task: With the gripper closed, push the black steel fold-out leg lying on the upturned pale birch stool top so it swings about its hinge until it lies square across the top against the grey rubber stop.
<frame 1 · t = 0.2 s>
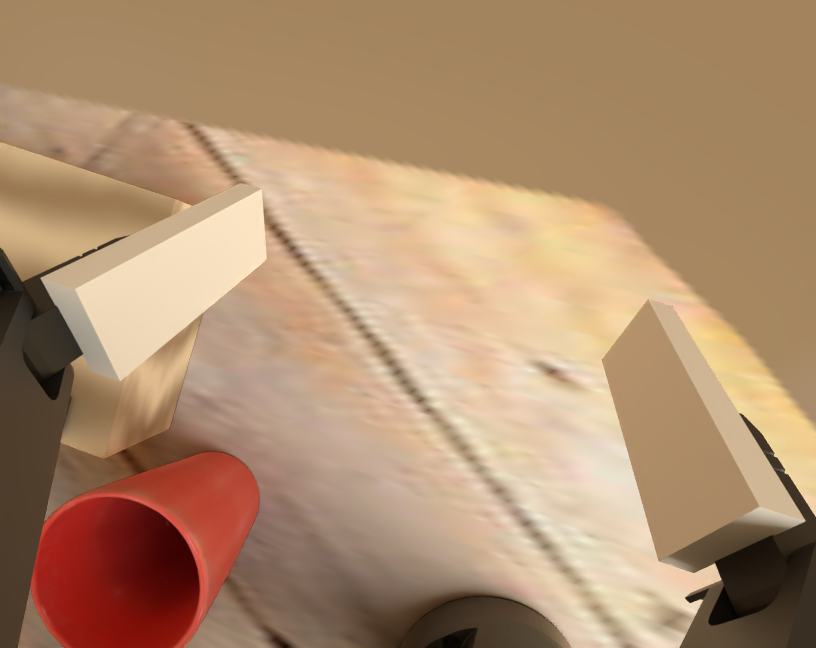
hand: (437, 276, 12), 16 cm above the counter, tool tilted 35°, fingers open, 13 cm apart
stool seat: (73, 283, 30), on the counter
flower pot: (217, 493, 30), on the counter
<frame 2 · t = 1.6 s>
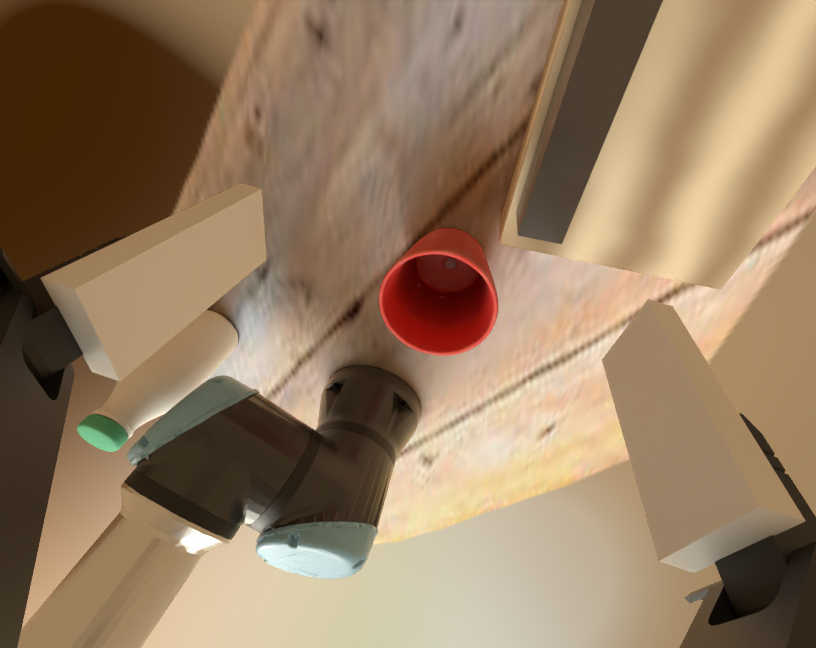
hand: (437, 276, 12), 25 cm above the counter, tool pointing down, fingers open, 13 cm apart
stool seat: (657, 99, 28), on the counter
milk bottle: (217, 328, 54), on the counter
folding leg: (590, 77, 21), point 9 cm above the counter, hinge at 0.0°
flower pot: (449, 260, 39), on the counter
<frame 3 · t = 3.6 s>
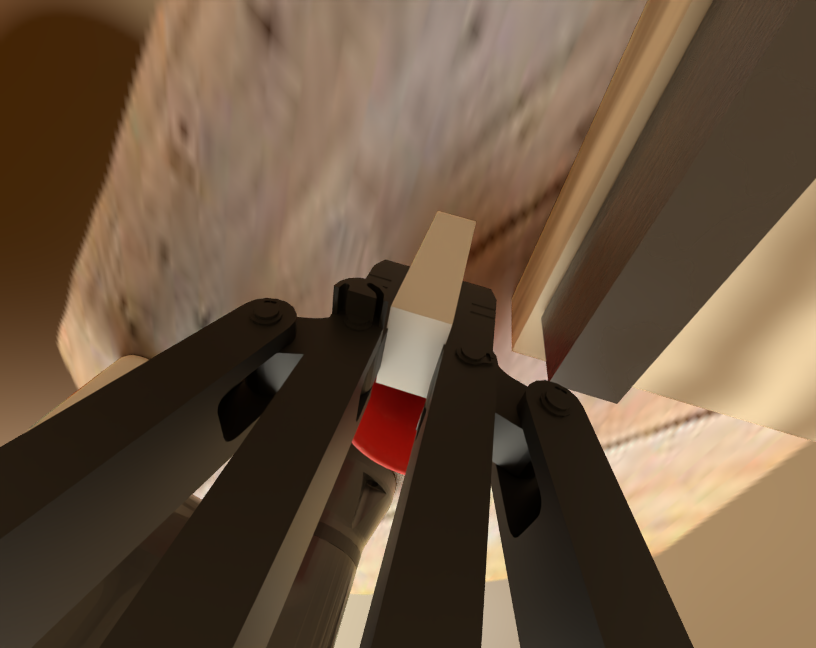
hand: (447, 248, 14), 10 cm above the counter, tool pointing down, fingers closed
stool seat: (761, 169, 19), on the counter
milk bottle: (152, 375, 44), on the counter
folding leg: (707, 159, 12), point 9 cm above the counter, hinge at 0.0°
flower pot: (441, 336, 30), on the counter
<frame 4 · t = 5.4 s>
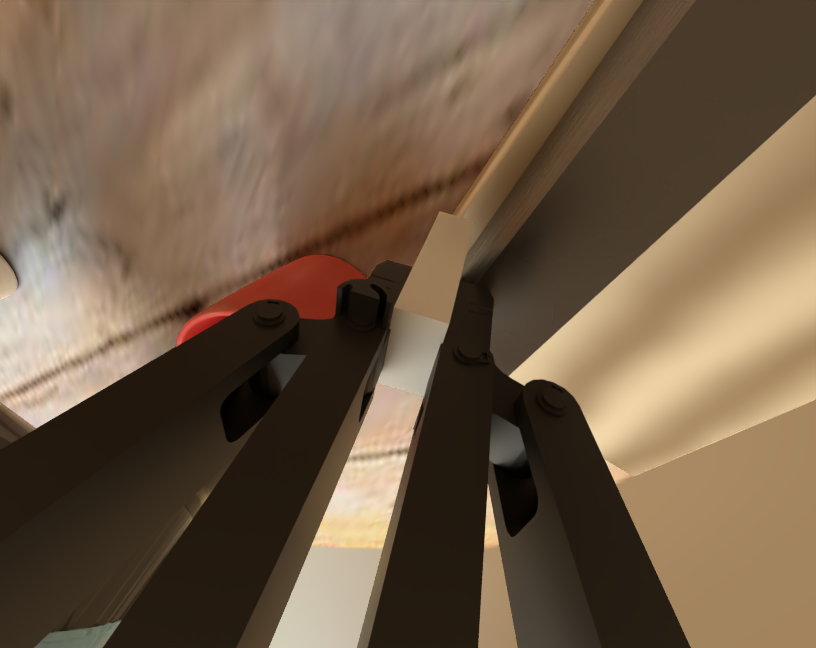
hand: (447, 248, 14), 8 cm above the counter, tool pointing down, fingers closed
stool seat: (662, 210, 19), on the counter
folding leg: (603, 168, 11), point 9 cm above the counter, hinge at 2.4°, touching gripper
flower pot: (333, 298, 28), on the counter
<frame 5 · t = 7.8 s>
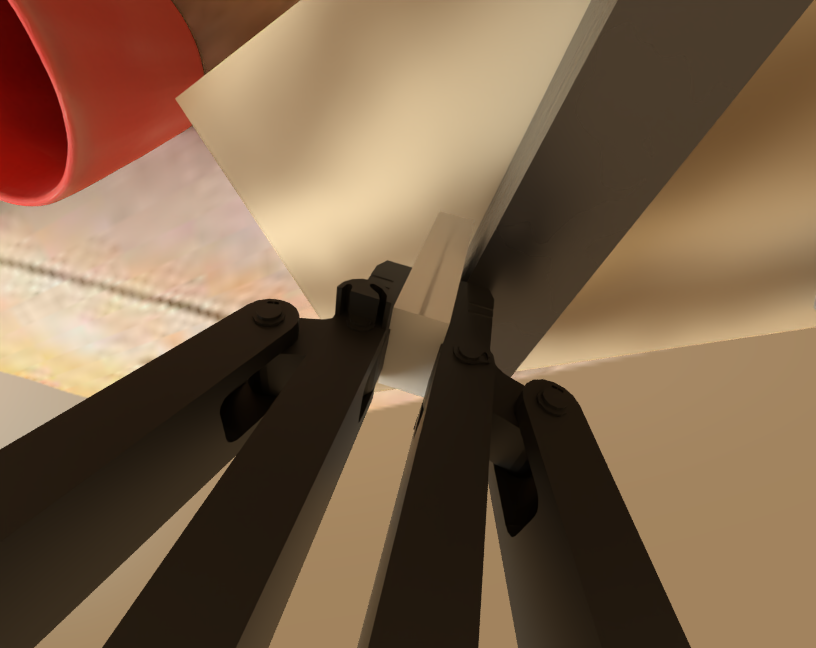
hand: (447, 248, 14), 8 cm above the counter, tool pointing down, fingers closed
stool seat: (507, 167, 19), on the counter
folding leg: (585, 144, 10), point 9 cm above the counter, hinge at 46.4°, touching gripper
flower pot: (148, 58, 21), on the counter
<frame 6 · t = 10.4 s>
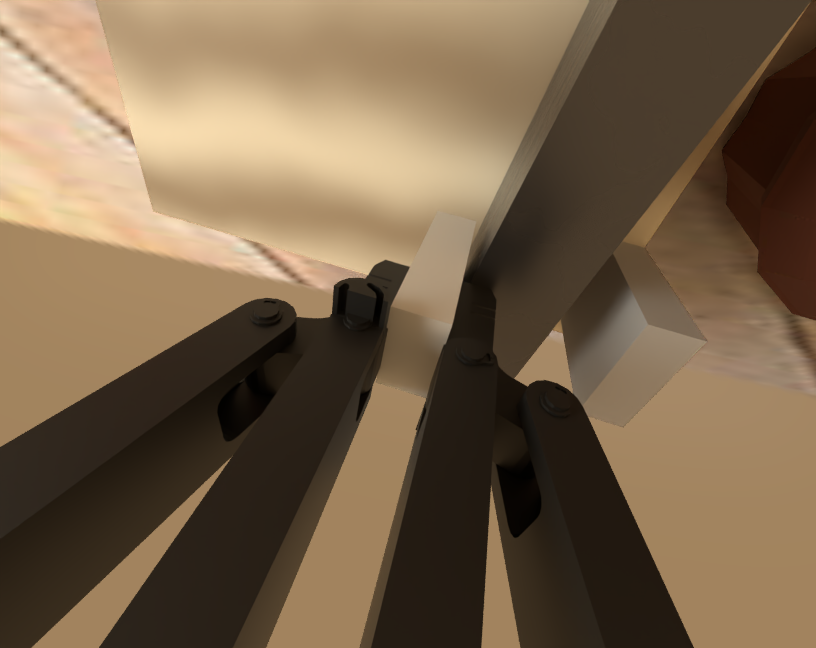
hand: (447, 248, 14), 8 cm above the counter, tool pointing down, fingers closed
stool seat: (420, 54, 17), on the counter
folding leg: (596, 128, 10), point 9 cm above the counter, hinge at 83.1°
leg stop: (598, 283, 16), resting on stool seat
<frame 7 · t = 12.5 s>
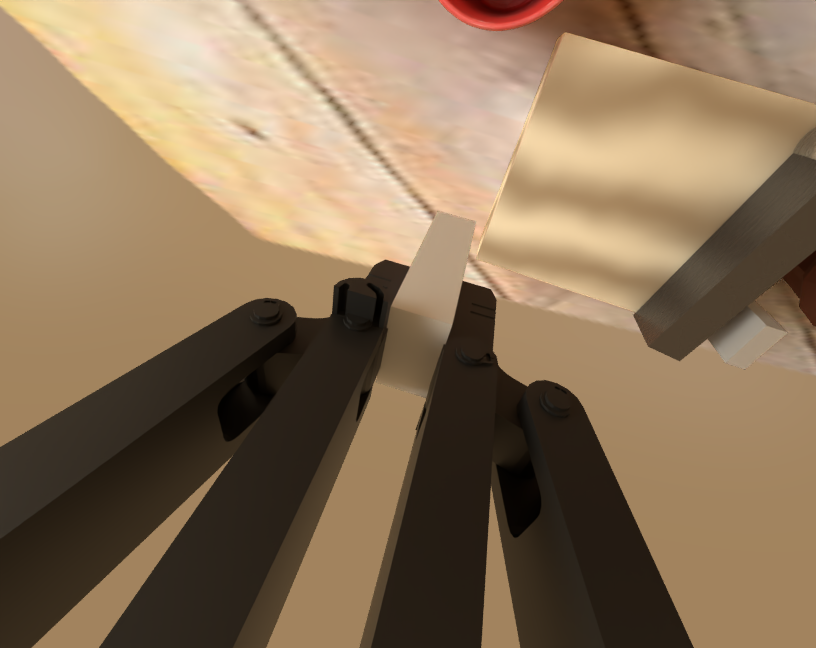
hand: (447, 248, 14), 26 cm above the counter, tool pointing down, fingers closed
stool seat: (628, 189, 34), on the counter
folding leg: (747, 252, 27), point 9 cm above the counter, hinge at 83.1°
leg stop: (720, 308, 32), resting on stool seat
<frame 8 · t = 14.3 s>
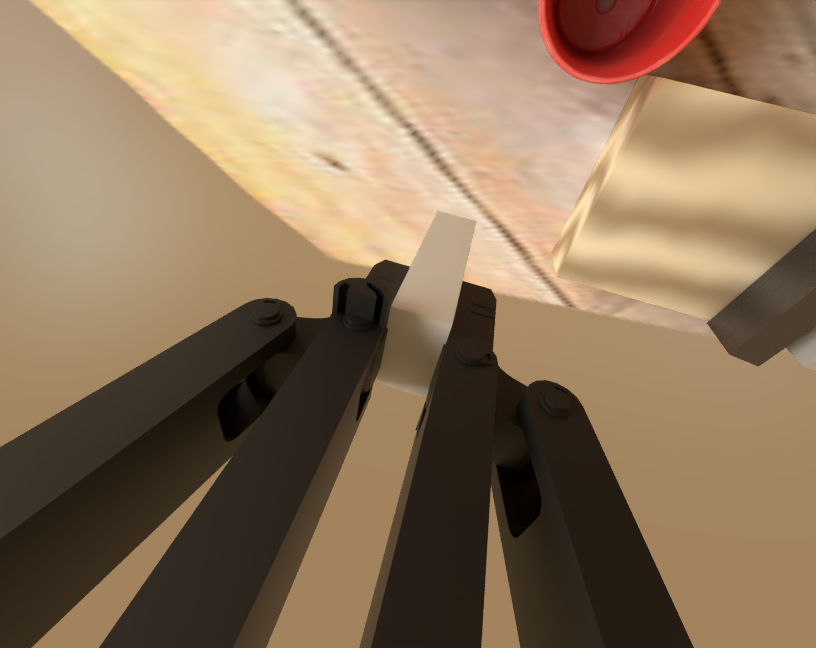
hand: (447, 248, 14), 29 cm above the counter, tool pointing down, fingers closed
stool seat: (700, 206, 37), on the counter
flower pot: (602, 0, 30), on the counter
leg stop: (792, 314, 35), resting on stool seat
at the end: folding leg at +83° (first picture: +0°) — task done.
